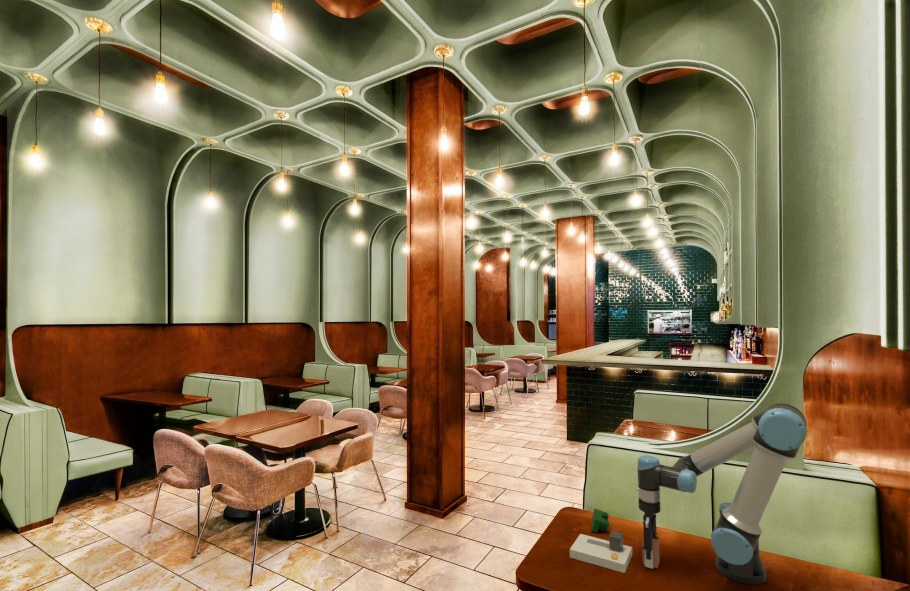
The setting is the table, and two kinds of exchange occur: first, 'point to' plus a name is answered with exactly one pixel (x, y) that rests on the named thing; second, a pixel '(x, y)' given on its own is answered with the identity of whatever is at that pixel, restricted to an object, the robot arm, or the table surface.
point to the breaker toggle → (616, 541)
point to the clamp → (600, 521)
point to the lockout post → (655, 552)
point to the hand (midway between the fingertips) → (650, 561)
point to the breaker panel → (600, 553)
